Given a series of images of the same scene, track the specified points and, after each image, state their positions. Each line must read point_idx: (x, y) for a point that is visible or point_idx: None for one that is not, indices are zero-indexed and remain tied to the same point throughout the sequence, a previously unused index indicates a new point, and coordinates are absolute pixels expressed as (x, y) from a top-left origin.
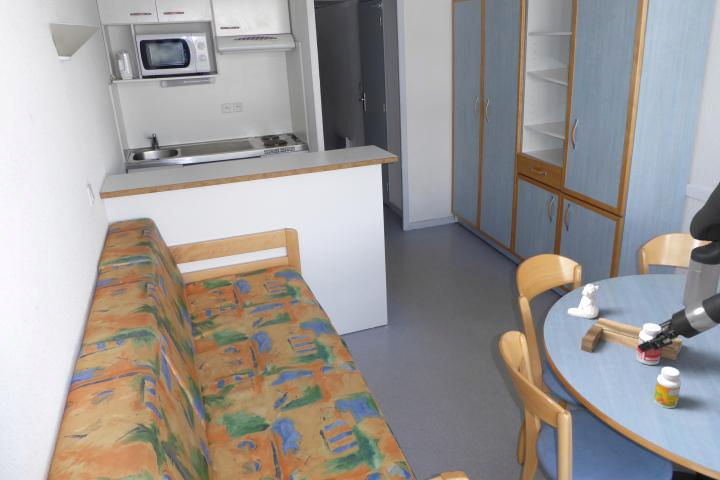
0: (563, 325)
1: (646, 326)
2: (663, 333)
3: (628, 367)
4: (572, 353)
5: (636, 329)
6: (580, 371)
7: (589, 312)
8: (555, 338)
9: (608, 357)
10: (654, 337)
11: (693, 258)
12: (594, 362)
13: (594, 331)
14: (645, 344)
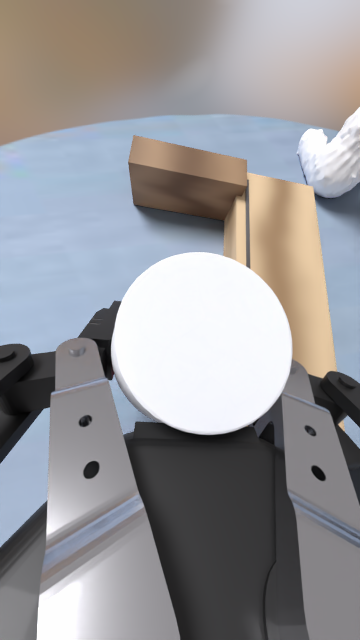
0: (240, 140)
1: (191, 277)
2: (43, 513)
3: (95, 307)
4: (107, 165)
5: (311, 291)
6: (10, 189)
7: (324, 163)
8: (166, 127)
9: (131, 248)
10: (81, 378)
11: None
12: (82, 217)
13: (204, 165)
14: (94, 328)
